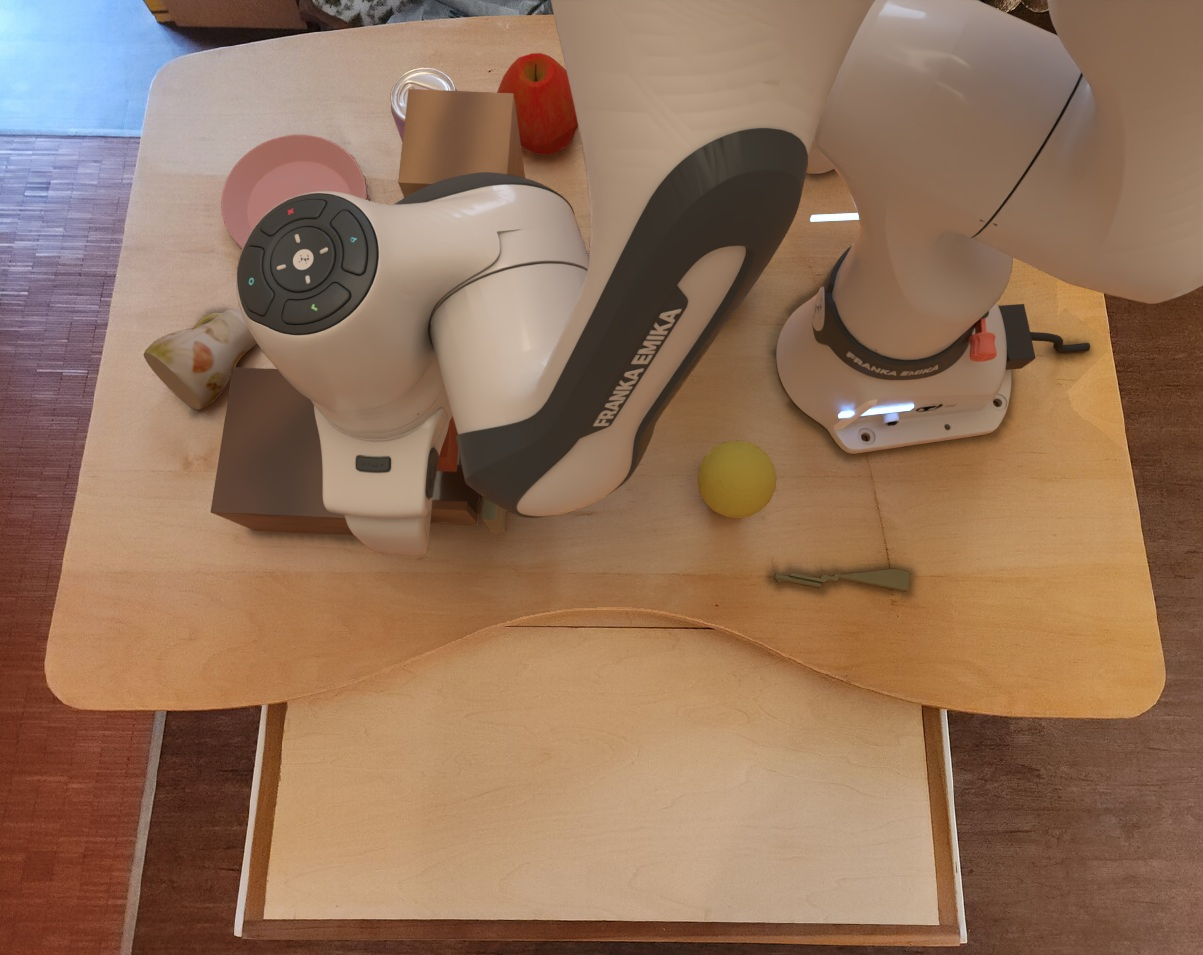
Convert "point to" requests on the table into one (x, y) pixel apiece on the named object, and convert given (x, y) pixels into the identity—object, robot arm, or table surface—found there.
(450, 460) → the block
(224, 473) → the cabinet
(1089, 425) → the table surface
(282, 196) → the plate
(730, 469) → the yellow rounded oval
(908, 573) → the toy shotgun
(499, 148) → the stand
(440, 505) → the drawer
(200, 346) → the mug
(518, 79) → the apple
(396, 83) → the beverage can
